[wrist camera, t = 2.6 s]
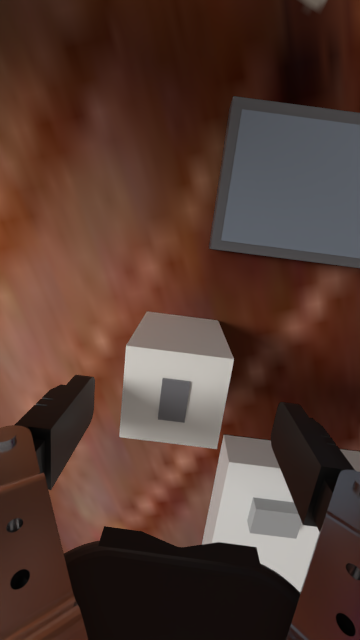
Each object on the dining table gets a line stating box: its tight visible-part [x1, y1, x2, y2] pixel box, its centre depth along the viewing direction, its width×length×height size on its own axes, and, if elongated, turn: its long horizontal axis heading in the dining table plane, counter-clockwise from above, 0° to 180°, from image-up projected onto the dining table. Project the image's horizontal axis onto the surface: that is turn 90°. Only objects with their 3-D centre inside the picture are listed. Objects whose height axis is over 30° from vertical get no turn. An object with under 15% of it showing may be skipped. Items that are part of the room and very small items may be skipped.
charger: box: [119, 312, 234, 449], centre depth 15 cm, size 4×4×6 cm
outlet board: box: [202, 435, 360, 592], centre depth 20 cm, size 20×16×3 cm
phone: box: [209, 96, 360, 268], centre depth 14 cm, size 14×7×1 cm, turn 83°
